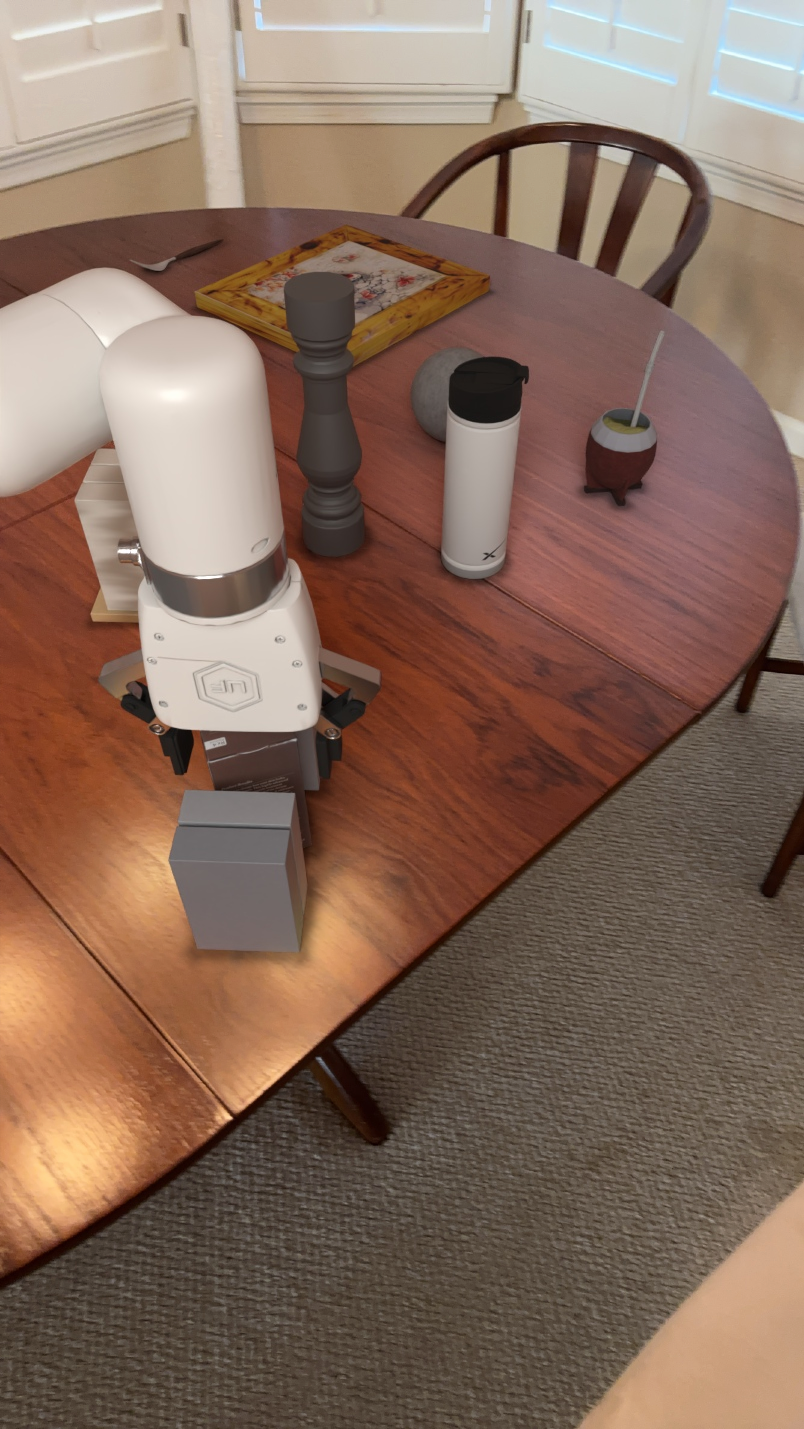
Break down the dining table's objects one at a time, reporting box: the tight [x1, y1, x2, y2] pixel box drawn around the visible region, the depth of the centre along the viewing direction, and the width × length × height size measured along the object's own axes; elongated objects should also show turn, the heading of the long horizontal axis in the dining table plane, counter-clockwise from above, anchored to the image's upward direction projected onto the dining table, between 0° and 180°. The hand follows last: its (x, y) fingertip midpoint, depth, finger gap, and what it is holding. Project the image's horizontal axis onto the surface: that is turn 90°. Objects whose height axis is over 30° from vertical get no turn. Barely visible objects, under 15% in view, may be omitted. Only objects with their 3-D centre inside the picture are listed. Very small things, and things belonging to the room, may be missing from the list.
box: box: [199, 730, 313, 849], centre depth 66 cm, size 6×4×12 cm
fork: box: [129, 238, 224, 272], centre depth 138 cm, size 3×16×2 cm, turn 136°
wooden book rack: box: [73, 448, 145, 624], centre depth 87 cm, size 10×18×13 cm, turn 178°
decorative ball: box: [410, 346, 485, 443], centre depth 103 cm, size 10×10×10 cm
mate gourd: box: [583, 330, 666, 507], centre depth 95 cm, size 8×8×15 cm
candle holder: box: [284, 272, 366, 558], centre depth 85 cm, size 6×6×25 cm
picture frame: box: [194, 224, 491, 367], centre depth 129 cm, size 27×2×30 cm
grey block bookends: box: [167, 706, 322, 954], centre depth 66 cm, size 7×19×11 cm, turn 178°
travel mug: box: [440, 355, 530, 580], centre depth 85 cm, size 6×7×20 cm
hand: (256, 760), depth 64 cm, fingers open, 9 cm apart
